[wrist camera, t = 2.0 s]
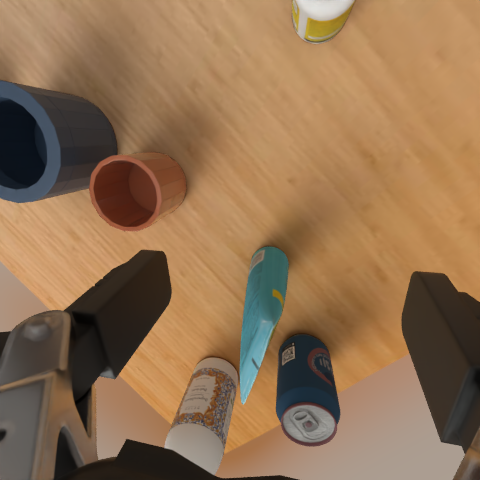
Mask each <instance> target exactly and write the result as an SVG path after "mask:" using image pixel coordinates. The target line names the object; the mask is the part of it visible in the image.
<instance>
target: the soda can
mask: <svg viewBox="0 0 480 480" xmlns="http://www.w3.org/2000/svg"><path fill="white" fill-rule="evenodd" d="M276 413H277V416H278V418H279V420H280V422H281V426H282V430H283V431H284V433H285V435H286V436H287V437H288V438H289V439H291V440H292V441H294V442H295V443H298V444H301V445H304V446H320V445H323V444H326V443H328V442H329V441H330V440H332V439H333V437H334V436H335V434H336V431H337V424H338V422H339V419H340V407H339V402H338V397H337V391H336V386H335V381H334V375H333V370H332V365H331V359H330V354H329V351H328V349H327V347H326V346H325V345H324V344H323V343H322V342H321V341H320V340H318V339H317V338H315V337H313V336H311V335H307V334H298V335H295V336H292V337H290V338H289V339H287V340H286V341H285V342H284V343H283V344H282V346H281V347H280V350H279V354H278V375H277V397H276Z"/></svg>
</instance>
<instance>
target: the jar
mask: <svg viewBox="0 0 480 480" xmlns="http://www.w3.org/2000/svg"><path fill="white" fill-rule="evenodd" d="M112 155H117V143H116V138H115V134H114V131H113V128H112V126H111V124H110V122H109V121H108V119H107V117H106V116H105V115H104V114H103V112H102V111H101V110H100V109H99V108H98V107H97V106H95V105H94V104H93V103H91V102H90V101H88V100H86V99H84V98H82V97H79V96H75V95H70V94H65V93H60V92H55V91H51V90H46V89H41V88H36V87H31V86H26V85H21V84H17V83H12V82H7V81H2V80H0V198H1V199H4V200H8V201H12V202H16V203H25V202H34V201H38V200H42V199H46V198H50V197H55V196H59V195H63V194H67V193H71V192H75V191H79V190H83V189H88V188H89V185H90V179H91V174H92V172H93V171H94V169H95V168H96V166H97V165H98V163H99V162H101V161H102V160H104V159H106V158H108V157H110V156H112Z"/></svg>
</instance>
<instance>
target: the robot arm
mask: <svg viewBox="0 0 480 480" xmlns="http://www.w3.org/2000/svg"><path fill="white" fill-rule="evenodd" d="M171 293H172V289H171V282H170V276H169V270H168V264H167V258H166V255H165V253H164V252H163V251H153V250H141V251H139V252H138V253H137V254H136V255H135V256H134V257H132V258H131V259H130V260H129V261H128V262H126V263H124V264H122V265H120V266H118V267H116V268H114V269H112V270H111V271H110V272H109V273H108V274H107V275H105V276H104V277H103V279H101V280H99V281H98V282H97V283H96V284H95V286H92V287H91V288H90V289H89V290H88V291H86V292H85V293H84V294H83V295H82V296H81V297H79V298H78V299H77V300H76V301H75V302H74V303H72V304H71V305H70V306H69V307H68V308H66V309H65V310H64V311H61V310H52V311H46V312H43V313H39V314H36V315H34V316H32V317H29V318H28V319H26V320H24V321H23V322H21V323H20V324H18V325H17V326H16V327H15V328H14V329H13V330H12V331H9V332H0V480H298V479H293V478H289V477H285V476H280V475H278V476H260V477H244V478H226V479H225V478H219V477H216V476H214V475H213V474H211V473H210V472H208V471H206V470H205V469H203V468H201V467H200V466H198V465H197V464H195V463H193V462H192V461H190V460H188V459H187V458H185V457H183V456H182V455H180V454H179V453H177V452H175V451H174V450H171V449H167V448H162V447H158V446H154V445H149V444H146V443H141V442H137V441H133V440H129V439H126V441H125V443H124V445H123V447H122V448H121V450H120V452H119V454H118V456H117V457H111V458H106V459H101V460H98V456H97V448H96V389H95V386H94V382H95V381H96V380H97V378H98V377H99V376H101V377H106V378H112V379H116V377H117V376H118V375H119V373H120V372H121V370H122V369H123V368H124V366H125V365H126V363H127V362H128V361H129V359H130V358H131V356H132V355H133V354H134V352H135V351H136V349H137V348H138V347H139V345H140V344H141V342H142V341H143V340H144V338H145V337H146V335H147V334H148V333H149V331H150V330H151V328H152V327H153V326H154V324H155V323H156V321H157V320H158V319H159V317H160V316H161V314H162V313H163V312H164V310H165V309H166V307H167V306H168V304H169V302H170V299H171ZM402 332H403V336H404V339H405V341H406V344H407V347H408V350H409V353H410V355H411V358H412V361H413V364H414V367H415V370H416V372H417V375H418V378H419V381H420V384H421V386H422V389H423V392H424V395H425V398H426V401H427V404H428V406H429V409H430V412H431V415H432V418H433V420H434V423H435V426H436V429H437V432H438V434H439V437H440V440H441V442H444V443H449V444H454V445H459V446H462V448H463V450H464V453H465V456H464V458H463V460H462V462H461V464H460V466H459V468H458V470H457V472H456V474H455V476H454V478H453V480H480V302H478V301H477V300H476V299H474V298H473V297H471V296H470V295H468V294H467V293H465V292H458V291H457V290H456V288H455V287H454V285H453V284H452V283H451V281H450V280H449V278H448V277H447V276H446V275H445V274H443V273H431V272H418V271H415V272H413V274H412V276H411V279H410V283H409V287H408V291H407V296H406V300H405V304H404V308H403V313H402Z"/></svg>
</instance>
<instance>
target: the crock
mask: <svg viewBox="0 0 480 480" xmlns="http://www.w3.org/2000/svg"><path fill="white" fill-rule="evenodd" d="M89 191H90V196H91V201H92V204H93V206H94V207H95V209H96V211H97V212H98V214H99V216H100V217H101V218H102V219H104V220H105V221H106V222H107V223H108V224H109V225H110V226H112V227H115V228H117V229H120V230H122V231H140V230H142V229H144V228H146V227H149V226H150V225H152V224H154V223H155V222H157V221H158V220H160V219H162V218H163V217H165V216H167V215H168V214H170V213H171V212H173V211H174V210H175V209H177V208H178V207H179V206H180V204H181V203H182V202H183V200H184V197H185V194H186V179H185V175H184V173H183V171H182V169H181V167H180V166H179V165H178V163H177V162H176V161H175V160H173V159H172V158H171V157H169V156H167V155H165V154H163V153H158V152H145V153H134V154H122V155H112V156H110V157H108V158H106V159H104V160H102V161H101V162H99V163H98V165H97V166H96V168H95V169H94V171H93V172H92V174H91V179H90V185H89Z"/></svg>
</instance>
